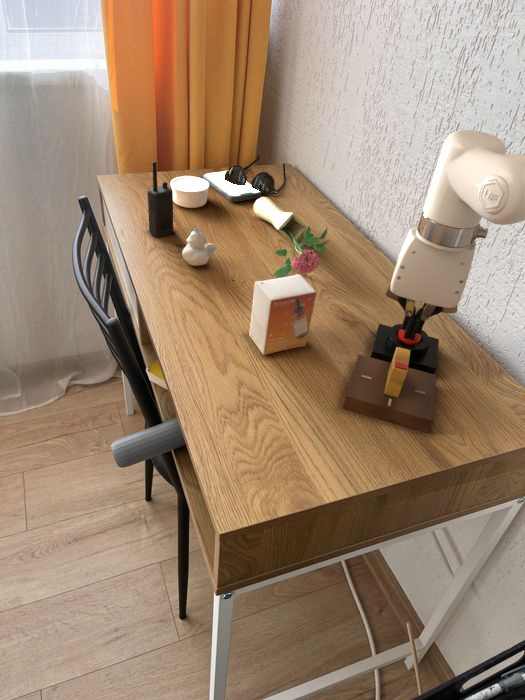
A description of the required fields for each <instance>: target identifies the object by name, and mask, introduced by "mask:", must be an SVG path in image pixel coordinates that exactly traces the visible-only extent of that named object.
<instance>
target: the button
mask: <svg viewBox="0 0 525 700" xmlns="http://www.w3.org/2000/svg"><path fill="white" fill-rule="evenodd" d="M404 332H405V330H402V329H400V330H399V332H398V336H397V337H398V338H399V339H400V340H401V341H403V342H404V343H407V344H411V345H414V344H419V343H420V340H421V335H420V334H418V333H416V335H415V338H414V340H410V338H407V339H406V338H404ZM409 337H410V335H409Z"/></svg>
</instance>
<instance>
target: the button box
mask: <svg viewBox="0 0 525 700" xmlns="http://www.w3.org/2000/svg"><path fill="white" fill-rule="evenodd" d="M401 327H402V323H396V324H394V325H392V326H390V325H386V324H383V323H379V324H378V326H377V330H376V333H375V337H374V341H373V345H372V349H371V352H370V356H369V357H371V358H374V359H378V360H382V361H386V362H389V363H391V362H392V359H393V356H394V353H395V350H396V347H400V348H404V349H407V350H410V358H409V365H408V368H412V369H415V370H419V371H423V372H426V373H430V374H434V375H435V373H436V370H437V366H438V356H439V343H440V339H439V338H437V337H432V336H429V335H428V333H427V332H426V331H425V330H423V329H422V331H421V333H420V335H421V340H420V343H419V344H414V345H411V344H407V343H404V342H403V341H401V340H400V339H399V338H398V337H397V336H398V332H399V330H400V329H401Z"/></svg>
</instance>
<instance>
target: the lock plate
mask: <svg viewBox="0 0 525 700" xmlns="http://www.w3.org/2000/svg"><path fill="white" fill-rule="evenodd" d="M390 365H391V363H389V362H386V361H382V360H378V359H374V358H371V357H370V356H366V355H363V354H360V353H358V354H357V356H356V360H355V364H354V367H353V370H352V374H351V377H350V381H349V385H348V388H347V392H346V395H345V399H344V403H343V406H342V409H344V410H347V411H349V412H354V413H356V414H361V415H364V416H368V417H371V418H375V419H378V420H381V421H386V422H389V423H393V424H395V425H399V426H402V427H406V428H409V429H413V430H416V431H420V432H423V433H428V432H429V430H430V427H431V425H432V423H433V419H434V409H435V408H434V407H435V393H436V383H437V375H436V374H435V373H434V374H430V373H426V372H423V371H419V370H415V369H412V368H408V372H407V375H406V377H405V380H404V383H403V386H402V388H401V391H400V394H399V397H398V398H397V397H393V396H390V395H386V394H384V392H385V387H386V381H387V376H388V371H389V368H390Z"/></svg>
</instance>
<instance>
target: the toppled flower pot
mask: <svg viewBox="0 0 525 700" xmlns="http://www.w3.org/2000/svg"><path fill="white" fill-rule="evenodd" d="M252 210H253V212H254V215H255V216H256V217H258V219H260V220H263V221H265V222H267V223H269V224H271V225H273V227H274V228H275V229H276V230H277V231H278V232H279V233H280V234H281V235H282V236H283V237H284V238H285V239H286V240H287V241H288V242H289V243H290V244H291V245H292V248H294V249H292V250H291V251H288V250H287V248H281V249H277V250H275V251H274V254H275V255H277V256H279V257H287V254H288V253H289V252H291V256H290V257H288V258H286V259H285V261H284V263H283V264H285V266H282V267H280V268H278V269H276V270H275V272H273V274H272V276H273V277H286V276H287V275H289V274H290V272H291V271H292V270H293V269H294V270H296V273H298V274H302V275H303V274H305V275H306V274H310V273H312V272H314V271H315V270H317V268H318V266H319V264H320V257H318V256H317V254H316V252H314V251H317V252H320V253H322V252H327V248H326V247H325V245H326V244H327V243H328V242H330V240H326V241H323V242H318V241H319V240H324V239H325V238H326V237H327V234H328V227H326V228H325V229H324V231H323V232H322V233H321V234H320V236H318V237H317V236H314V234H313V233H311V226H310V225H306V224H305V223H304V222H303V221H302V220H301V219H300V217H298V216H297V215H296V214H295V213H294V212H291V211H290V212H289V211H287V212H286V211H284V210H282V208H280V206H278V205H277V204H276V203H275V202H274V201H273V200H272V199H271V198H269V197H268V196H261V197H260V198H256V200H255V202H254V203H253V209H252ZM303 233H304V234H303ZM302 234H303V235H302ZM302 237H303V238H302ZM298 239H299V240H300V241H301V242H300V243H299V242H298ZM303 245H307V246H308V247H311V246H313V249H312V250H311V249H308V248H304V247H303ZM297 247H298V248H297ZM301 247H302V248H303V249H302V248H301ZM298 249H299V250H298ZM295 252H297V253H298V256H295V255H294V254H295ZM293 257H294V261H292V258H293ZM291 261H292V262H291ZM291 264H292V265H291Z"/></svg>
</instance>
